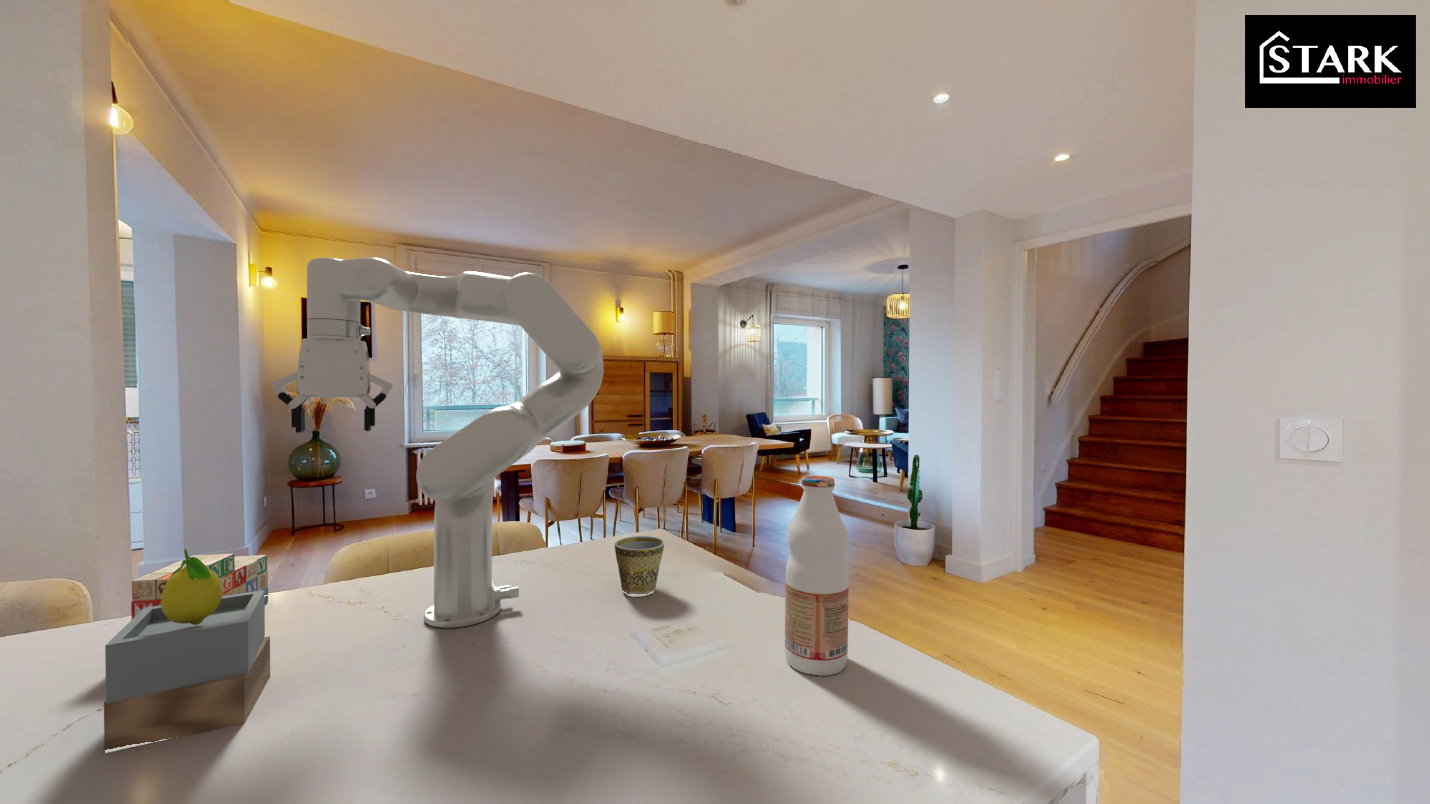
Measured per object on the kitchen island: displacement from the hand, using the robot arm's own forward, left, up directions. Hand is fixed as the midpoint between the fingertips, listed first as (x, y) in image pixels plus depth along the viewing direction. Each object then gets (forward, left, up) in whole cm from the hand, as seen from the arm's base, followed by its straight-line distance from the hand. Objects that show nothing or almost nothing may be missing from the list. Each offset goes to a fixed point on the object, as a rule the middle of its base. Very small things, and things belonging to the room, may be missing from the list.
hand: (334, 431), depth 93 cm
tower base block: (+11, +24, -34) cm, 42 cm away
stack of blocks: (+19, -6, -34) cm, 39 cm away
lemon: (+11, +24, -23) cm, 34 cm away
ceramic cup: (-53, +8, -34) cm, 63 cm away
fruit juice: (-67, +48, -34) cm, 89 cm away
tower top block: (+11, +23, -28) cm, 38 cm away
